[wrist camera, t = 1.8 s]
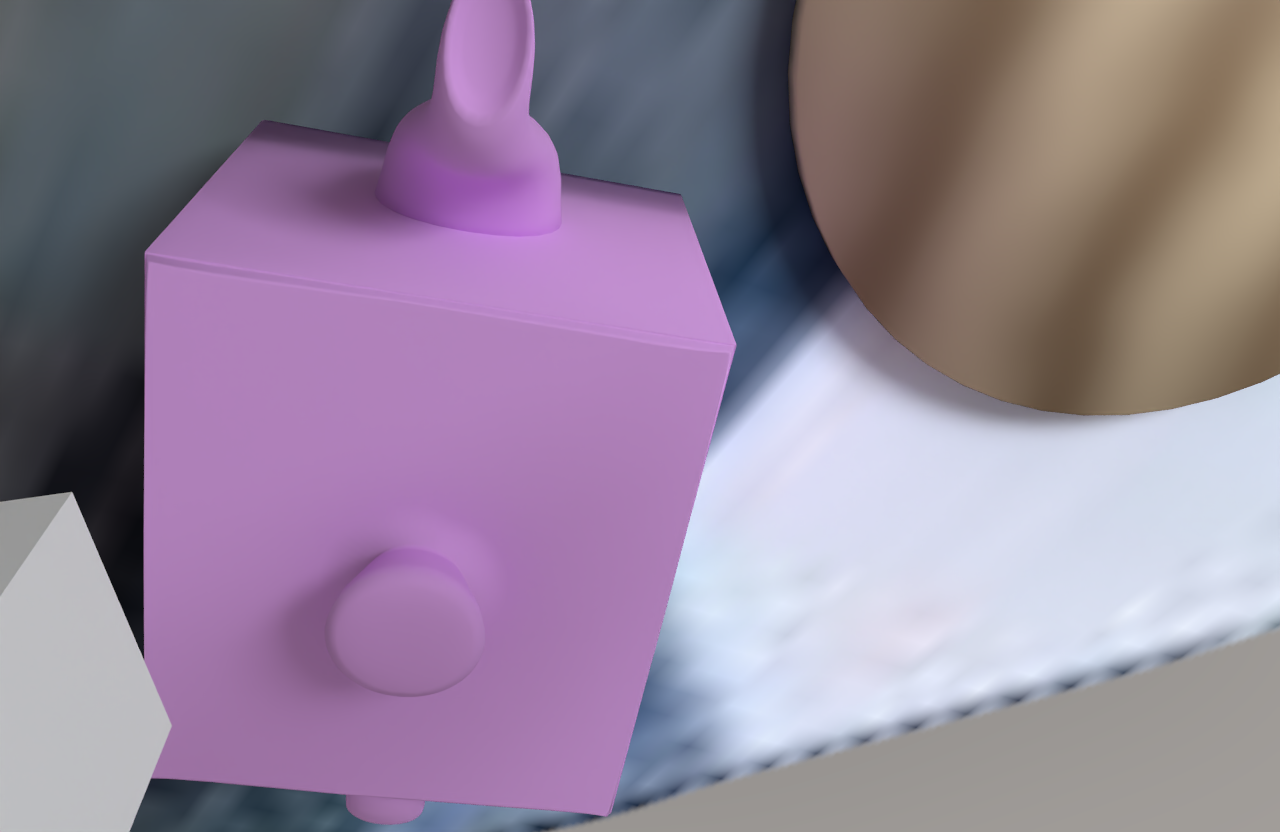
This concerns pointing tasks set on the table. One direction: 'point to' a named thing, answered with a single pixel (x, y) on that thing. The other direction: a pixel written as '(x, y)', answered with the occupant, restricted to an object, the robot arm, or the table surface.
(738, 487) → the table surface
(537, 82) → the table surface
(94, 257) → the table surface
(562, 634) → the teapot
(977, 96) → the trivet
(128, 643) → the robot arm
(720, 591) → the table surface
